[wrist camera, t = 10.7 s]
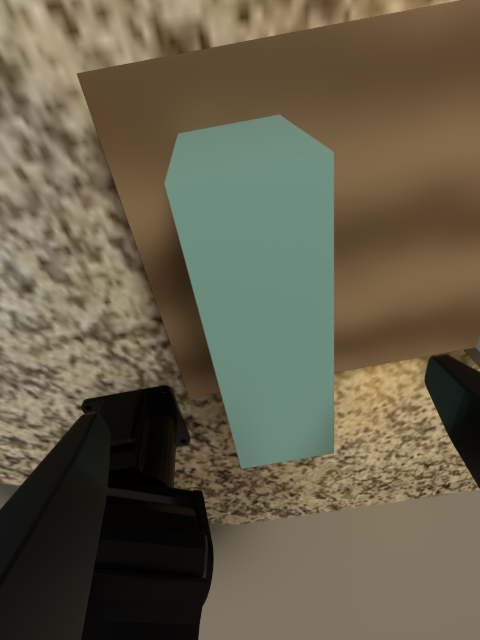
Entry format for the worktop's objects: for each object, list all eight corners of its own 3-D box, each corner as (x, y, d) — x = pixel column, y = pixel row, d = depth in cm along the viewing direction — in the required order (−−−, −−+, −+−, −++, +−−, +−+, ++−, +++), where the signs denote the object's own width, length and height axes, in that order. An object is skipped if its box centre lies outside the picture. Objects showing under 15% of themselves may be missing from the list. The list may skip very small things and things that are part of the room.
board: (448, 319, 25) (475, 347, 22) (190, 365, 25) (189, 398, 23) (525, -11, 15) (589, -25, 13) (96, 71, 15) (76, 73, 13)
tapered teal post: (297, 347, 21) (334, 452, 15) (230, 359, 21) (241, 469, 16) (279, 114, 14) (333, 151, 8) (177, 133, 14) (164, 183, 8)
